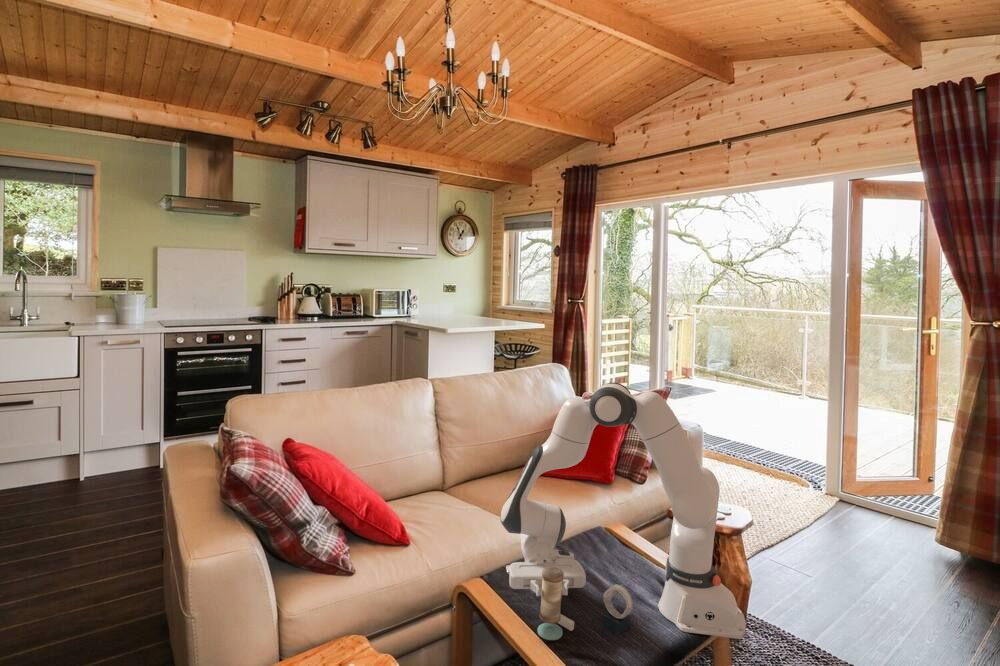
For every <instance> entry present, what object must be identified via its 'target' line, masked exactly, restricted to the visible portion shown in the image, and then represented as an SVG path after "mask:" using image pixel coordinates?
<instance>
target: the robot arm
mask: <svg viewBox="0 0 1000 666" xmlns="http://www.w3.org/2000/svg"><path fill="white" fill-rule="evenodd" d="M630 424H632V425H633V426H634V428H635V430H636V431H637V433H638V434H639V437H640V439H641V440H642V443H643V445H644V446H645V448H646V449H647V452H648V453H649V455H650V457H651V459H652V460H653V463H654V466H655V467H656V470H657V472H658V475H659V477H660V480H661V483H662V485H663V488H664V491H665V494H666V495H667V498H668V501H669V504H670V507H671V512H672V515H673V518H672V526H671V530H670V540H669V541H670V542H669V552H668V557H667V558H666V561H665V571H664V572H665V573H664V574H665V575H664V576H665V582H664V588H663V591H662V594H661V597H660V599H659V602H658V605H657V608H658V609H659V612H660V613H661V614H662V615H663V617H665V619H667V620H668V621H670V622H672V623H673V624H675V626H676V627H677V628H678V629H679V630H681V632H685V633H692V634H697V635H698V634H699V635H706V636H712V637H715V636H716V637H722V638H732V639H742V638H743V636H745V634H746V629H747V627H746V626H747V622H746V618H745V615H744V613H743V612H742V610H741V609H740V608H739V607H738V603H737V601H736V597H735V596H734V593H732V591H731V590H730V589H729V588H727V587H726V586H725V585H724V584H723V583H722V581H721V580H722V579H721V577H720V576H719V574H720V573H719V570H718V568H717V565H712V564H713V553H714V552H713V551H714V544H715V541H714V540H715V536H716V535H715V534H716V526H717V516H718V508H719V500H720V499H719V498H720V490H721V489H720V485H719V482H718V481H719V480H718V479H717V477H716V475H715V473H714V472H712V471H711V470H710V469H708V468H707V467H704V466H700V463H699V460H698V458H697V455H696V452H695V449H694V447H693V445H692V444H691V441H690V439H689V437H688V435H687V434H686V432H685V430H684V429H683V427H682V424H681V422H680V421H679V420H678V418H677V416H676V415H675V413H674V411H673V410H672V409H671V407H670V406H669V404H668V403H667V401H665V399H664V398H663V397H662V395H660V393H658V392H654V391H647V392H645V391H644V392H642V393H639V394H636V395H633V394H632V393H631V392H630V390H629V389H628V388H627V387H626V386H625V385H623V384H621V383H618V382H609V383H608V382H607V383H605V384H603V385H601V386H599V387H598V388H597V389H596V390H595V391H594V392H593V394H592V395H590V397H589V398H588V399H586V398H585V399H584V398H580V397H570V398H568V399H566V400H564V402H563V403H562V406H561V408H560V409H559V412H558V413H557V416H556V417H555V420H554V423H553V426H552V430H551V433H550V435H549V436H548V438H547V440H546V441H545V442H544V443H543V444H541V445H538V446H536V447H535V448H534V450H533V451H531V454H530V456H529V457H528V459H527V461H526V463H525V465H524V466H523V469H522V471H521V473H520V475H519V477H518V479H517V481H516V482H515V485H514V487H513V489H512V491H511V493H510V494H509V496H508V497H507V499H506V500H505V503H504V504H503V506H502V508H501V512H500V523H501V525H502V526H503V528H504V529H505V530H506V531H507V533H510V534H514V535H515V534H517V535H520V549H521V553H522V556H523V558H524V561H519V562H517V561H516V562H511V563H510V564H507V565H506V566H505V571H506V573H507V574H508V575H509V577H508V578H509V579H508V582H509V587H510V588H511V589H513V590H525V589H526V590H528V589H530V590H531V591H532V592H533V593H535V594H536V597H541V596H543V589H542V581H543V577H542V571H543V569H545V568H547V567H555V568H558V569H560V570H562V571H563V573H564V577H563V580H562V594H561V596H568V595H569V594H568V593H569V591H568V590H569V589H575V588H576V589H580V588H581V589H582V588H584V587H585V586H586V580H587V579H586V576H587V574H586V572H585V569H584V568H583V566H582V565H581V563H580V562H579V561H578V560H577V559H575V555H574V552H571V551H565V550H561V549H557V548H556V547H557V546H558V545H559V544H560V543H561V542H562V541H563V539H564V535H565V533H566V527H567V522H566V520H567V519H566V517H565V514H564V512H563V510H562V508H561V507H560V506H559V505H556V504H550V503H546V502H540V501H536V500H531V499H528V498H529V495H530V493H531V492H532V489H533V487H534V485H535V483H536V481H537V480H538V478H539V476H541V475H542V474H544V473H546V472H549V471H554V470H558V469H559V470H560V469H567V468H570V467H573V466H576V465H578V464H579V463H580V462H582V460H583V459H584V458H585V457H586V454H587V451H588V449H589V447H590V446H589V445H590V442H591V438H592V436H593V433H594V429H595V428H596V426H597V425H601V426H604V427H608V428H609V427H611V428H612V427H613V428H614V427H618V426H626V425H627V426H628V425H630Z"/></svg>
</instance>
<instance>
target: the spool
mask: <svg viewBox="0 0 1000 666" xmlns="http://www.w3.org/2000/svg"><path fill="white" fill-rule="evenodd" d="M542 577H543V581H542V589H543V596H540V597H541V598H540V610H539V618H540V620H541V621H542V622H544V623H554V624H558V623H557V622H559V621H560V618H561V614H562V613H561V605H562V603H561V602H562V595H561V594H562V580H563V577H564V573H563V571H562V570H560V569H558V568H555V567H547V568H545V569H543V571H542Z"/></svg>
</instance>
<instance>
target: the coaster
mask: <svg viewBox="0 0 1000 666" xmlns="http://www.w3.org/2000/svg"><path fill="white" fill-rule="evenodd" d="M537 634H538V635H539V637H541V638H542V639H544V640H546V641H558V640H559V639H561V638H562V637H563V634H564V633H563V629H562V627H561V625H560V626H559V625H558V623H546V622H544V623H541V624H540V625H538V627H537Z"/></svg>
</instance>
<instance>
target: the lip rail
mask: <svg viewBox="0 0 1000 666" xmlns="http://www.w3.org/2000/svg"><path fill="white" fill-rule="evenodd" d="M556 624H557V625H558V624H559V625H560V626H562V627H564V628H565V629H567V630H568V631H570V632H571V631H573V630H574V629H575V621H574V620H572V619H571V618H568V617H567V616H565V615H564V614H562V613H561V618H560V621H559V622H557V623H556Z"/></svg>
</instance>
